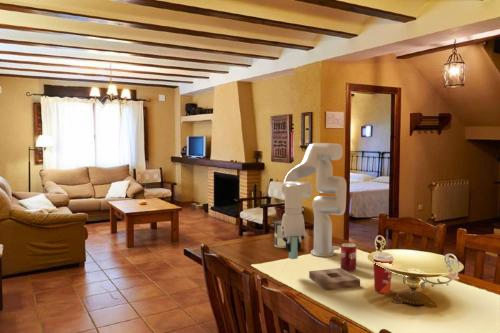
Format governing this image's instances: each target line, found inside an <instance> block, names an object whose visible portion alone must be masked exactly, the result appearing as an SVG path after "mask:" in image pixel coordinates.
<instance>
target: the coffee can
mask: <svg viewBox="0 0 500 333" xmlns="http://www.w3.org/2000/svg"><path fill="white" fill-rule="evenodd" d="M281 224H282V219H280V220H275V221H274V247H276V248H278V249H279V248H280V249H286V242H285V241H284V240H283V239H281V238H279V234H280V233H281ZM283 237H285V236H284V235H283Z"/></svg>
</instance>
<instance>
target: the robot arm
mask: <svg viewBox="0 0 500 333" xmlns="http://www.w3.org/2000/svg"><path fill="white" fill-rule="evenodd" d="M343 154H344V149H343V146H342V145H341V144H340V143H331V142H330V143H329V142H313V143H310V144H309V145H308V146H307V147H306V149H305V153H304V155H303V157H302V159H301V162H300V163H299V164H297V165H296V166H295V167H293V168H292V169H290V170H289V171H288V172H287V174H286V176H284V177H285V178H284V179H283V182H282V186H281V193H282V195H283V196H284V213H283V214H282V216H281V217H282V218H281V220H282V224H281V233H280V234H279V238H281V239H283V240H284V241H285V242H286V248H285V250H286V252H288V253H289V252H291V244H290V237H294V236H298V252H301V249H302V248H301V246H302V245H301V243H302V242H303V240H304V239H305V238H306V237H307V236H308V232H307V231H306V229H305V219H304V214H303V212H305V207H302V204H303V203H302V200H303V199H309V198H310V197H311V196H312V195H313V193H314V192H313V189H314V187H313V186H312V183H310V182H307V181H298V180H300V179H302V178H306V177H309V176H312V175H314V174H316V179H315V180H316V181H315V182H316V185H315V186H316V187H315V188H316V191H317V193H320V194H330V195H335V196H330V195H318V196H316V197H314V198H313V199H312V210H313V218H314V219H313V249H311V251H310V254H311V255H313V256H316V257H321V258H323V257H325V258H327V257H332V256H335V250H336V251H339V250H341V246H338V245H337V246H336V245H332V243H333V242H332V241H333V239H332V237H333V236H332V235H333V222H332V219H331V217H330V215H335V216H342V215H344V214H345V213H346V208H347V207H346V206H347V180H346V178H345V177H342V176H338V175H337V176H336V175H335V176H334V175H333V174H334V170H333V169H334V167H333V164H332V162H331V161H339V160H341V158H342V157H343ZM283 235H284V236H285V237H283Z"/></svg>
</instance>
